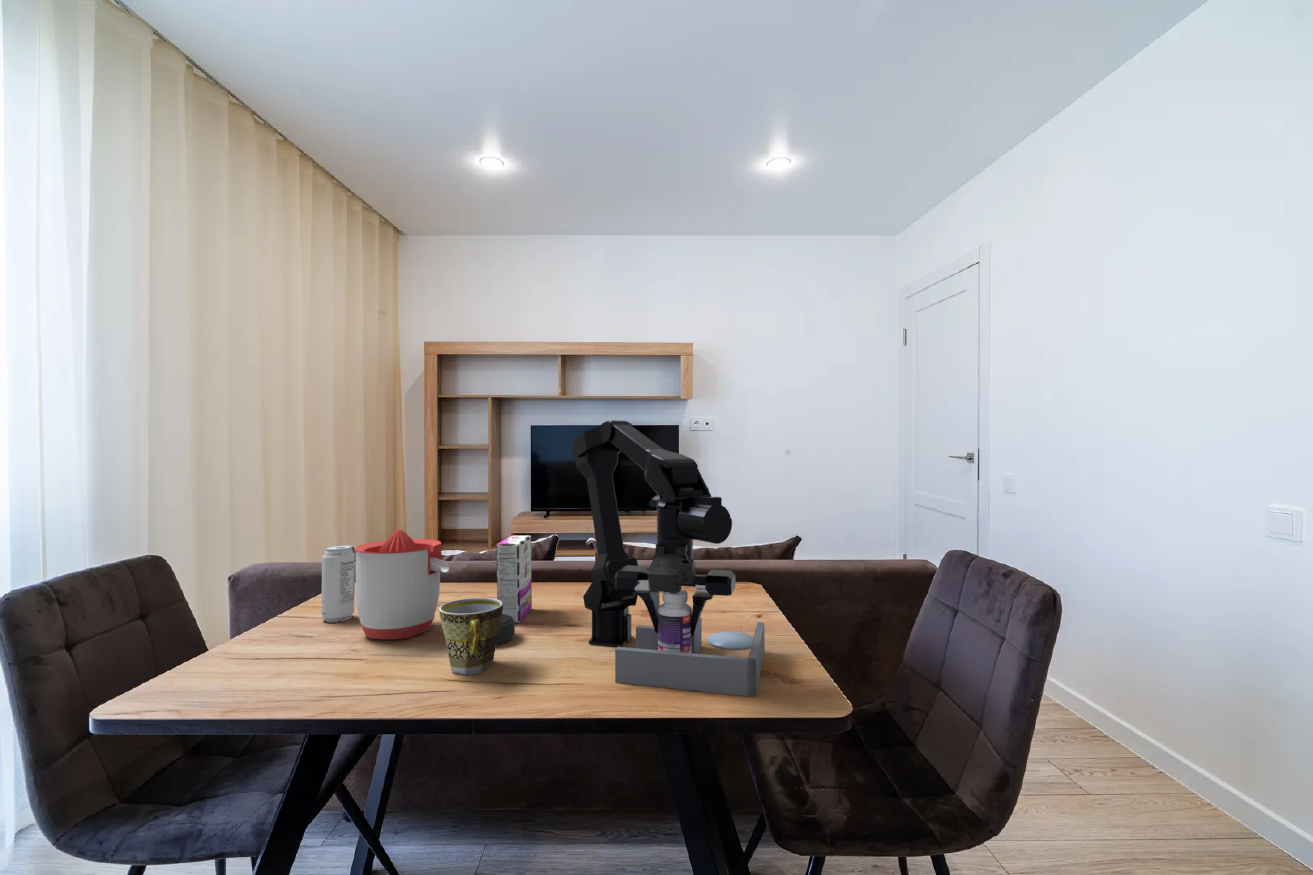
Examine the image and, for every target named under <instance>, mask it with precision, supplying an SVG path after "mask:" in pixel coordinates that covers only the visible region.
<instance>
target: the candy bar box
mask: <svg viewBox="0 0 1313 875" xmlns="http://www.w3.org/2000/svg"><path fill="white" fill-rule="evenodd" d="M496 593H497V594H496V599H497V600H500V601H502V602H503V610H502V614H506V615H509V616H511V617H512V618H513V619H514V621H515V624H520V623H521V622H522V621H523V619H524V618H525V617H526V616H527V615H528V613H529V612H530V611H531V609H532V608H533V604H532V603H533V602H532V598H533V597H532V593H533V592H532V535H523V534H521V535H519V534H518V535H516V534H515V535H510V536H508V537H506V538H505V539H503V540H502V541H500V542H499V543H497V544H496Z"/></svg>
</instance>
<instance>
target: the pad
mask: <svg viewBox="0 0 1313 875" xmlns="http://www.w3.org/2000/svg"><path fill="white" fill-rule="evenodd" d="M753 637H754V635H750V634H748V633H744V632H737V631H721V632H715V633H712V634H710V635H709V636H707V643H708V644H709V645H711V646H713V647H715V648H719V649H724V650H733V651H734V650H746V649H750V648H751V645H752V641H753Z"/></svg>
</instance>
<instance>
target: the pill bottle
mask: <svg viewBox="0 0 1313 875" xmlns="http://www.w3.org/2000/svg"><path fill="white" fill-rule="evenodd" d="M661 598H662V602H663V603H662V604H660V607H659V609H658V650H661V651H672V652H684V653H691V652H692V636H691V619H692V609H693V608H692V607H691V606H690V605H689V604H687V602H688V599H689V598H688V591H687V590H685V589H681V591H680V592H678V593H675V594H672V593H669V592H662V597H661Z"/></svg>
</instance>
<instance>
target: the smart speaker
mask: <svg viewBox="0 0 1313 875" xmlns="http://www.w3.org/2000/svg"><path fill="white" fill-rule="evenodd" d="M515 624H516V623H515V621H514V619H513V618H512V617H511V616H509V615H506V614H502V617H501V622H500V627H499V631H498V636H497V642H496V646H499V645H503V644H506V643H508V642H510V641H511V640H512V639H514V636H515V634H516V632H515V631H516V630H515V629H516V627H515Z"/></svg>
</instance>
